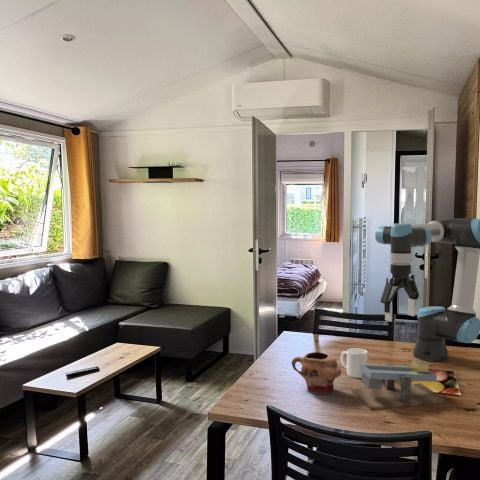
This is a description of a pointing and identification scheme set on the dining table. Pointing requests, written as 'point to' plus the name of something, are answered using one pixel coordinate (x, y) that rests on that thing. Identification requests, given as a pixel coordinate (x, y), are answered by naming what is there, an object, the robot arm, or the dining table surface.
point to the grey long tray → (390, 375)
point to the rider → (419, 367)
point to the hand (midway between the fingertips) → (400, 318)
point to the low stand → (397, 395)
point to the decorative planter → (318, 371)
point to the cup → (354, 361)
